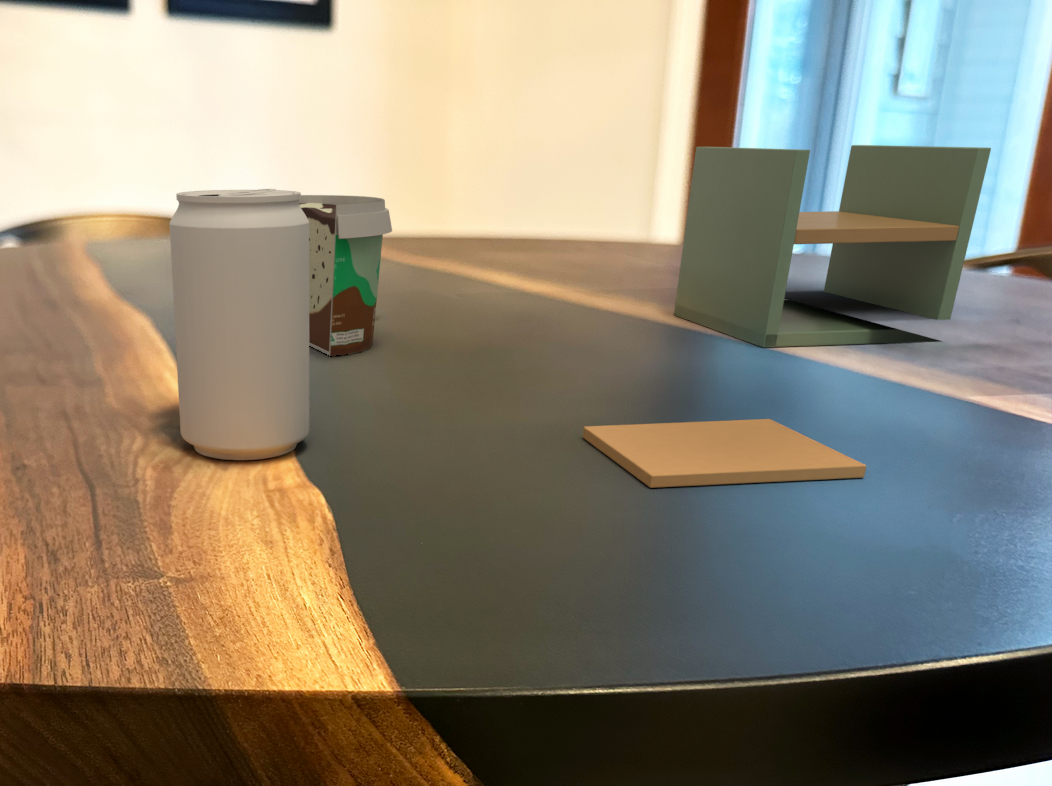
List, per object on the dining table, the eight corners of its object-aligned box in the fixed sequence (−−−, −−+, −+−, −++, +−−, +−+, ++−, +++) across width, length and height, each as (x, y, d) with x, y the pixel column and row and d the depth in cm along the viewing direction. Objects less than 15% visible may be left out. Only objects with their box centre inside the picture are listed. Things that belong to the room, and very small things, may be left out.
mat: (768, 429, 52) (770, 418, 52) (864, 478, 45) (867, 465, 45) (581, 437, 51) (583, 426, 51) (650, 488, 44) (651, 475, 44)
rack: (830, 310, 86) (862, 145, 81) (945, 341, 73) (992, 147, 68) (673, 314, 85) (696, 146, 80) (762, 347, 72) (796, 149, 67)
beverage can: (168, 436, 52) (152, 188, 48) (285, 423, 54) (281, 185, 50) (200, 471, 47) (187, 195, 42) (329, 456, 49) (330, 191, 44)
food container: (419, 353, 71) (425, 202, 67) (338, 361, 69) (339, 205, 65) (347, 324, 82) (348, 192, 78) (275, 330, 80) (273, 195, 76)
